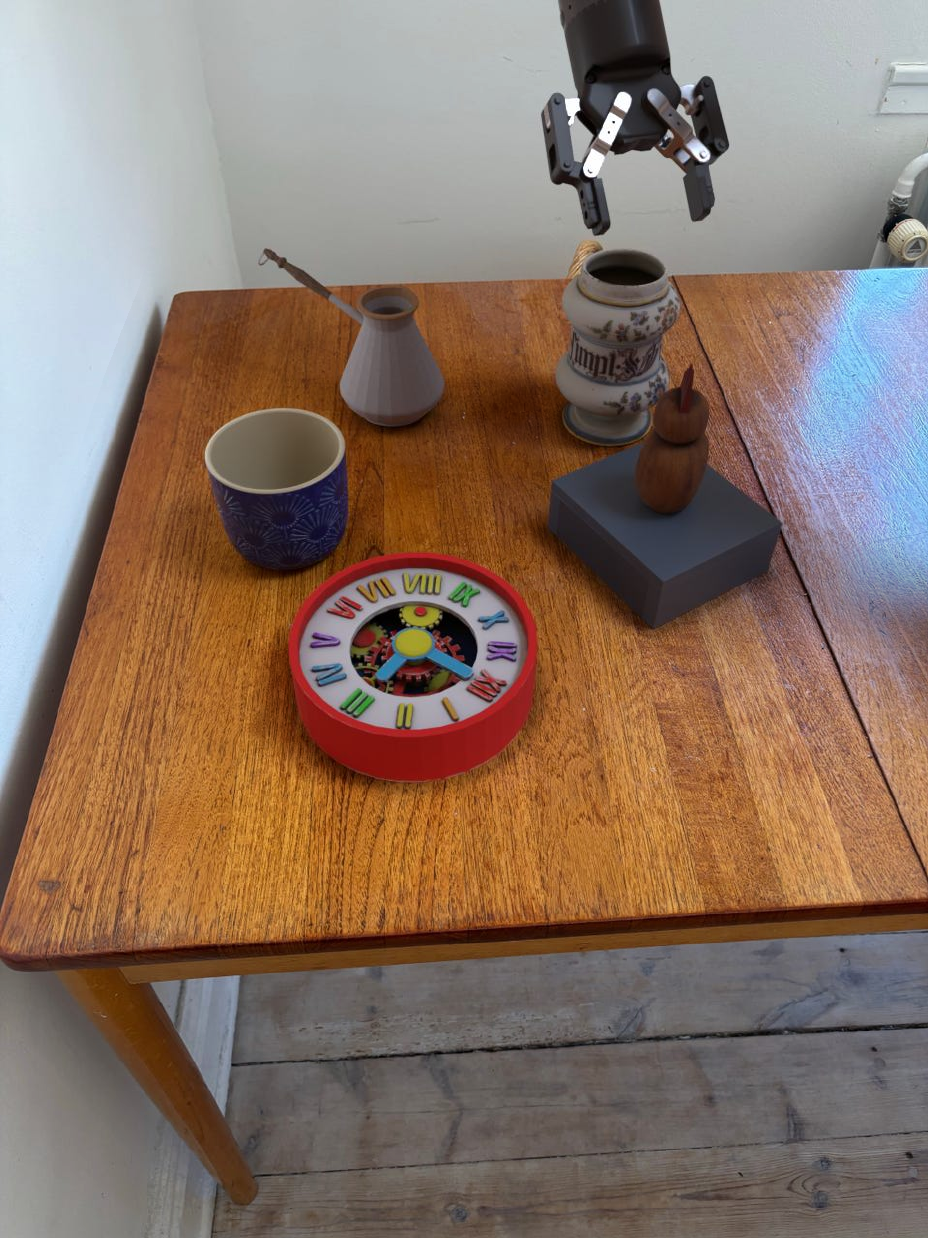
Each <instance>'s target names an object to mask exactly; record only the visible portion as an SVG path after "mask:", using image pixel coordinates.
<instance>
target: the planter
mask: <svg viewBox="0 0 928 1238" xmlns="http://www.w3.org/2000/svg"><path fill="white" fill-rule="evenodd" d="M346 450H347V449H346V441H345V437H344V435H343V433H342V431H341V430H340V429H339V427H338V426H337V425H336V424H335V423H334V422H332V420H330V419H328V418H327V417H325V416H323V415H321V414H318V413H316V412H313V411H309V410H306V409H299V408H290V407H277V408H276V407H275V408H268V409H267V408H265V409H261V410H256V411H253V412H249V413H246V414H244V415H240V416H239V417H236V418H234V419H232V420H230V421H228V422H227V423H226V424H224V425H223V426H221V427H220V428H219V429H218V430H216V432H214V434H213V435H212V436H211V438H210V439H209V440H208V442H207V445H206V447H205V450H204V451H205V452H204V462H205V466H206V469H207V474H208V477H209V481H210V485H211V488H212V492H213V496H214V500H215V502H216V507H217V510H218V513H219V516H220V519H221V522H222V525H223V528H224V531H225V533H226V535H227V538H228V540H229V542H230V543H231V545H232V546H233V548H234V549H235V551H236V552H237V553H238V554H239V555H240V556H241V557H242V558H243V559H245V560H246V561H248V562H250V563H252V564H254V565H255V566H258V567H261V568H265V569H269V570H279V571H288V570H297V569H302V568H306V567H309V566H311V565H313V564H316V563H318V562H320V561H322V560H323V559H325V558H326V557H328V556H329V555H331V553H333V552H334V551H335V550H336V548H338V546H339V545H340V544H341V542H342V540H343V538H344V536H345V533H346V529H347V524H348V519H349V518H348V517H349V516H348V515H349V485H348V484H349V483H348V467H347V452H346Z"/></svg>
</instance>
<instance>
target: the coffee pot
mask: <svg viewBox="0 0 928 1238" xmlns="http://www.w3.org/2000/svg"><path fill="white" fill-rule="evenodd" d="M264 255H265V257H266V259H265V260H264V261H263V262H261V260H262V258H263V257H264ZM269 260H270V261H274V262H275V263H276V266H277V268H278V269H284V270H285V272H287V273H288V274H289V275H290V276H291V277H292V278H294V280H295V281H297V282H298V283H299V284H302V285H303V286H305V287H306V288H307V289H308V290H311V291H313V292H314V293H315V294H317V295H319V296H320V297H322V298H324V299H325V300H326V301H329V302H331V303H332V304H333V305H335V306H336V307H337V308H339V310H342V311H343V312H344V313H346V315H348V316H349V317H350V318H352V319H353V320H355V321H356V322H357V323H359V324H360V325H361V327H360V329H359V332H358V334H357V337H356V340H355V342H354V345H353V347H352V350H351V352H350V355H349V357H348V361H347V362H346V365H345V368H344V370H343V373H342V376H341V379H340V382H339V390H340V395H341V397H342V398H343V400H344V402H345V403H346V405H347V406H348V408H349V409H350V410H351V411H353V412H354V413H355V414H356V415H358V416H359V417H361V418H363V419H365V420H366V421H367V422H369V423H371V424H374V425H377V426H382V427H392V428H393V427H403V426H407V425H410V424H413V423H416V422H417V421H419V420H420V419H421V418H423V417H425V415H427V414H428V413H429V412H431V411H432V410H433V409H434V408H435V407H436V406H437V404H438V403H439V401H440V400H441V398H442V396H443V394H444V390H445V385H446V384H445V383H446V382H445V380H444V377H443V376H444V375H443V373H442V371H441V369H440V367H439V365H438V363H437V361H436V359H435V358H434V356H433V354H432V352H431V349H430V348H429V346H428V344H427V342H426V340H425V338H424V336H423V334H422V332H421V330H420V328H419V326H418V325H417V322H416V320H415V319H414V315H415V313H416V311H417V310H418V308H419V305H420V300H419V297H418V296H417V295H416V293H415V292H413V290H411V289H410V288H408V287H406V286H402V285H401V286H400V285H383V286H377V287H372V288H370V289H367V290H365V291H364V292H362V293H361V294H360V295H359V296H358V297H357V299H356V303H355V304H356V308H357V309H356V308H354V307H353V306H352V305H349V303H346V302H345V301H344V300H342V299H341V298H339V297H338V296H336V295H335V294H333V291H330V289H328V288H327V287H326V286H325V285H322V284H321V283H320V282H319V281H318V280H316V279H315V278H314V277H313V276H311V275H310V274H309V273H308V272H306V270H304V269H301V268H300V267H297V266H296V265H294V264H292V263H290V262H288V260H287V257H285V256H282V257H281V256H279V255H277V253H276V252H275V251H273V250H272V249H271V248H264V249H263V251H262V253H261V254H260V256H259V258H258V260H257V265H259V266H264V265H265V264H266V263H267V262H268V261H269Z"/></svg>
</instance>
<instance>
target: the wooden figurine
mask: <svg viewBox="0 0 928 1238" xmlns="http://www.w3.org/2000/svg"><path fill="white" fill-rule="evenodd" d="M693 366H694V363H689V366H688V367H687V368H686V370H684V373H683V376H682V379H681V382H680V385H679V386H677V387H672V388H670V389H667V391H666V392H665V393H664V394H663V395H661V396H660V398H659V400H658V402H657V404H655V407H654V411H653V416H652V424H653V428H652V429H651V430H650V431H649V432H648V433H647V434H646V437H645V439H644V441H643V442H644V443H643V445H642V447H641V449H640V453H639V457H638V460H637V464H636V469H635V484H636V488H637V492H638V494H639V496H640V498H641V500H642V501H643V503H644V504H645V505H646V506H648V507H650V508H651V509H653V510H655V511H657V512H659V513H672V512H677V511H680V510H681V509H683V508H685V507H686V506H687V505H688V504H689V503H690V502H691V501H692V499H693V498H694V496H695V494H696V492H697V490H698V488H699V486H700V484H701V482H702V480H703V477H704V474H705V471H706V467H707V464H708V460H709V453H710V452H709V451H710V442H709V437H708V436H707V435H706V433H705V432H706V431H707V426H708V423H709V419H710V414H711V413H710V404H709V401H708V399H707V397H706V396H705V395H704V393H702V392H701V391H699V390H697V389H695V388H693V386H694V385H693V384H694V377H695V368H693Z"/></svg>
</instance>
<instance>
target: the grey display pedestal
mask: <svg viewBox="0 0 928 1238" xmlns="http://www.w3.org/2000/svg"><path fill="white" fill-rule="evenodd" d="M643 443H644V441H642V442H640V443H637V444H635V445H632V446H630V447H628V448H626V449H623V450H621V451H618V452H616V453H614V454H611V455H609V456H607V457H606V456H605V457H604V458H601V459H599V460H597V461H594V462H592V463H590V464H587V465H584V466H582V467H580V468H577V469H575V470H573V471H571V472H568V473H566V474H563V475H561V476H559V477H556V478H554V479H552V480H551V485H550V487H551V489H550V498H549V511H548V521H547V529H548V530H549V531H550V532H551V533H552V534H553V535H554V536H555V537H556V538H557V539H558V540H560V542H561V543H563V545H565V547H567V548H568V549H569V550H570V551H571V552H572V553H573V554H574V555H575V556H576V558H578V559H579V560H580V561H581V562H582V563H584V564H585V566H587V568H589V569H590V570H591V571H592V572H593V573H594V574H595V575H596V576H597V577H598V578H599V579H600V580H601V581H602V582H603V583H604V584H605V585H607V587H608V588H609V589H610V590H612V591H613V592H614V593H615V594H616V596H618V597H619V598H620V599H621V600H622V601H623V602H624V603H625V604H626V605H627V606H628V607H629V608H630V609H631V610H633V611H634V613H635V614H637V615H638V616H639V618H641V619H642V620H643V621H644V622H645V624H647V625H648V626H649V627H650V628H651V629H652V630H655V629H657V628H659V627H660V626H663V625H665V624H666V623H668V622H670V621H673V620H674V619H677V618H678V617H680V616H682V615H684V614H686V613H688V612H691V611H692V610H694V609H696V608H698V607H700V606H702V605H704V604H706V603H708V602H709V601H711V600H714V599H716V598H717V597H720V596H722V595H724V594H725V593H727V592H729V591H731V590H733V589H735V588H737V587H739V586H741V585H743V584H745V583H747V582H749V581H751V580H753V579H755V578H757V577H758V576H760V575H763V574H765V573H766V572H768V571H769V569H770V565H771V562H772V559H773V556H774V553H775V549H776V546H777V543H778V539H779V537H780V533H781V530H782V526H783V521H781V520H780V519H778V518H777V517H776V516H775V515H773V514H772V513H771V512H769V511H768V510H767V509H765V508H764V507H763V506H762V505H760V504H759V503H758V502H756V500H754V499H753V498H751V497H750V495H749V496H748V494H746V493H745V492H744V491H742V490H741V489H740V488H738V487H737V486H736V485H735V484H734V483H732V482H731V481H730V480H728V479H727V478H726V477H724V476H723V475H722V474H720V473H719V472H718V471H717V470H715V469H714V468H713V467H712V466H710V465H709V464H708V463H707V467H706V471H705V474H704V477H703V480H702V482H701V484H700V486H699V488H698V490H697V492H696V494H695V496H694V498H693V499H692V501H691V502H690V503H689V504H688V505H687V506H686V507H685V508H683V509H681V510H680V511H677V512H672V513H659V512H657V511H655V510H653V509H651V508H650V507H648V506H646V505H645V504H644V503H643V501H642V500H641V498H640V496H639V494H638V492H637V488H636V484H635V469H636V464H637V460H638V457H639V453H640V449H641V447H642V445H643Z"/></svg>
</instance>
